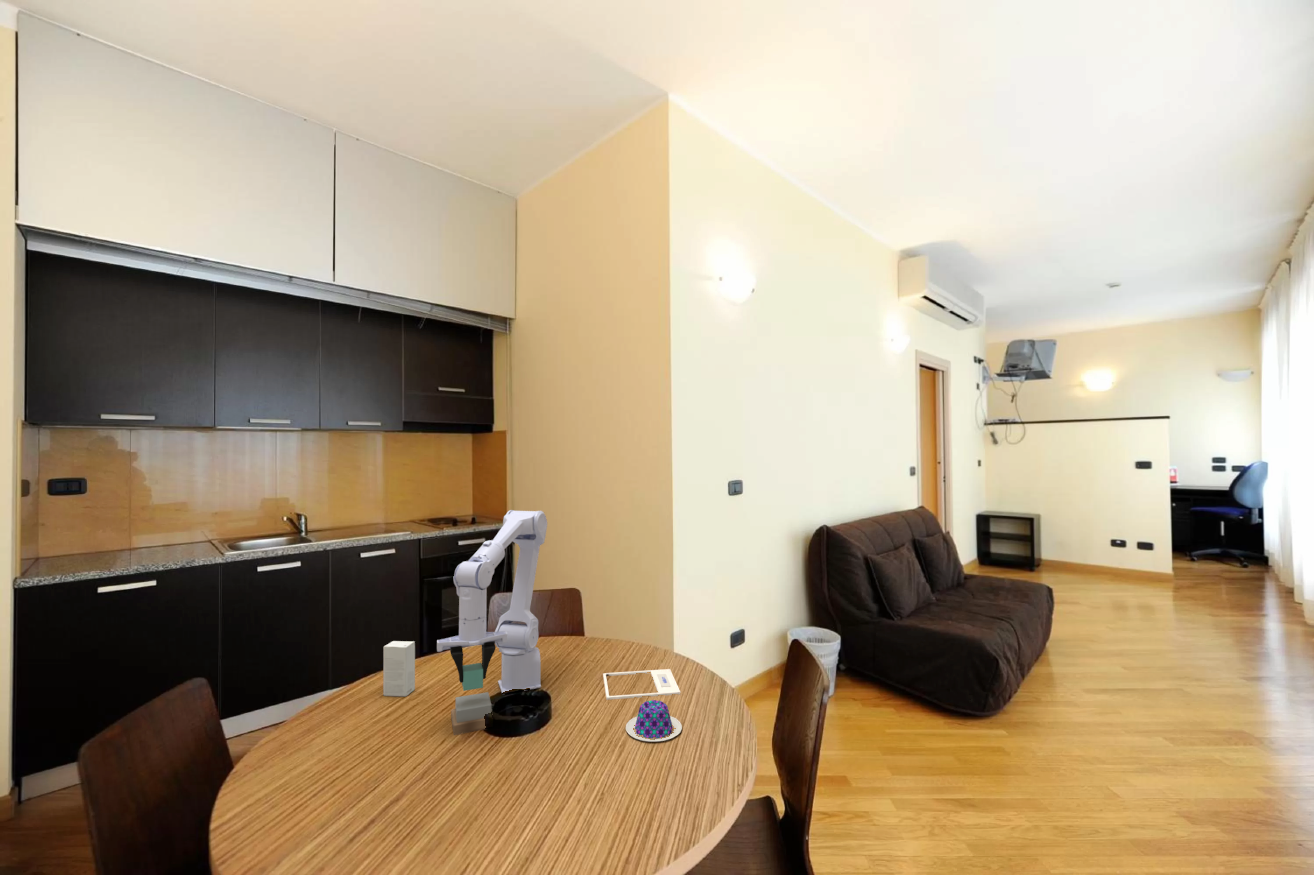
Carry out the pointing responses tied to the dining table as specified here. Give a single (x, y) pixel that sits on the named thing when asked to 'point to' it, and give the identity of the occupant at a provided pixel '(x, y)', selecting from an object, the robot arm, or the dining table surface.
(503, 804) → the dining table surface
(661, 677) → the photo frame
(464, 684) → the teal block
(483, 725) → the tower base
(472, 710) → the tower top
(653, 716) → the pudding
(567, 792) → the dining table surface
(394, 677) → the skincare box
